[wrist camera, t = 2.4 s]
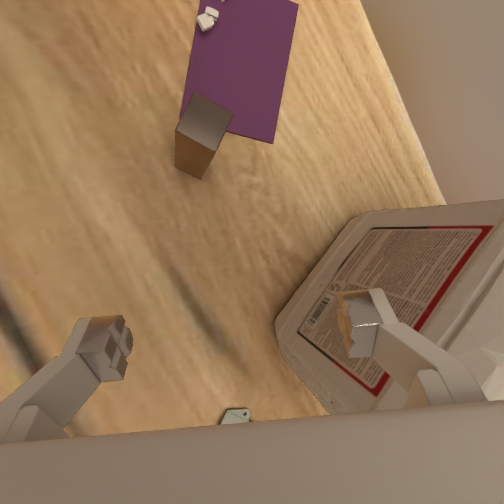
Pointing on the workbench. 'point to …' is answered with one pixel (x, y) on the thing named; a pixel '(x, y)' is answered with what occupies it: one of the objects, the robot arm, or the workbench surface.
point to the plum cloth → (243, 62)
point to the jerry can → (403, 300)
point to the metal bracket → (236, 416)
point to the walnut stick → (199, 134)
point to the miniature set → (208, 18)
